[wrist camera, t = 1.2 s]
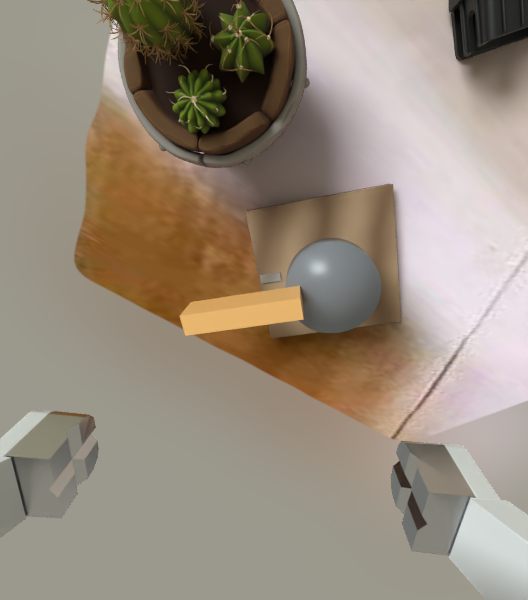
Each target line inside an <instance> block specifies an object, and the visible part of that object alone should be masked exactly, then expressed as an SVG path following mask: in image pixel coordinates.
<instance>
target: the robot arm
mask: <svg viewBox="0 0 528 600" xmlns="http://www.w3.org/2000/svg"><path fill="white" fill-rule="evenodd" d="M95 428H96V426H95V422H94V417H92V416H90V415H86V414H76V413H67V412H57V411H54V412H53V411H45V410H34V411H31V412H29V413H28V414H27V415H26V416H25V417H24V418H22V419H21V420H20V421H19V422H18V423H17V424H16V425H15V426H14V427H13V428H12V429H11V430H9V431H8V432H7V433H6V434H5V435H4V436H3V437H2V438H1V439H0V538H1V537H2V536H3V535H5V534H6V533H7V532H9V531H10V530H11V529H13V528H14V527H15V526H17V525H18V524H19V523H21V522H22V521H23V520H25V519H26V516H31V517H47V518H62V517H63V515H64V514H65V512H66V511H67V509H68V508H69V506H70V505H71V503H72V502H73V500H74V499H75V497H76V495H77V494H78V493H77V485H79V484H80V483H82V482H83V481H85V480H86V479H88V477H89V475H90V474H91V472H92V471H93V469H94V466H95V464H96V461H97V458H98V441H97V440H96V439H95V438H94V436H93V435H92V434H91V433H92V432H93V430H94V429H95ZM396 453H397V456H398V458H399V462H397V463H396V464H395V465H394V466H393V469H392V474H391V489H392V494H393V498H394V501H395V504H396V507H397V508H398V509H400V510H401V511H402V512H403V513H404V517H403V521H402V525H403V528H404V531H405V533H406V536H407V539H408V542H409V545H410V548H411V551H415V552H423V553H432V554H439V555H448V556H449V558H450V559H451V561H452V562H453V563H454V564H455V565H456V566H457V568H458V569H459V570H460V571H461V572H462V573H463V574H464V575H465V577H466V578H467V579H468V580H469V581H470V582H471V583H472V585H473V586H474V587H475V588H476V589H477V590H478V591H479V593H480V594H481V595H482V596H483V597H484V598H485V599H486V600H528V515H527V514H525V513H524V512H523V511H521V510H520V509H518V508H517V507H515V506H514V505H512V504H511V503H510V502H509V501H504V500H501V499H500V498H499V496H498V495H497V494H496V492H495V491H494V490H493V488H492V486H491V485H490V483H489V482H488V480H487V479H486V477H485V476H484V474H483V473H482V472H481V471H480V469H479V467H478V466H477V464H476V463H475V461H474V460H473V458H472V457H471V455H470V454H469V453H468V451H467V450H466V448H465V447H463V446H462V445H458V444H442V443H441V444H437V443H424V442H410V441H401V442H400V443H399V445H398V448H397V452H396Z"/></svg>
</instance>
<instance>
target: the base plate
mask: <svg viewBox="0 0 528 600" xmlns="http://www.w3.org/2000/svg"><path fill="white" fill-rule="evenodd" d="M246 217H247V222H248V227H249V232H250V237H251V242H252V247H253V252H254V257H255V262H256V267H257V271H258V276H259V281H260V286H261V291H268V290H275V289H281V288H286V277H287V271H288V268H289V266H290V263H291V261H292V260H293V258H294V257H295V255H296V254H297V253H298V252H299V251H300V250H301V249H302V248H304V247H305V246H306V245H308V244H310V243H312V242H314V241H317V240H320V239H324V238H340V239H344V240H348V241H350V242H352V243H354V244H356V245H357V246H359V247H360V248H361V249H362V250H363V251H364V252H365V253H366V254H367V255H368V256H369V257H370V259H371V260H372V261H373V262H374V264H375V265H376V267H377V269H378V271H379V274H380V278H381V296H380V299H379V302H378V305H377V307H376V309H375V310H374V312H373V313H372V314H371V316H370V317H369V318H368V319H367V320H366V321H365V322H363V323H362V324H361V325H359V326H357V327H363V326H371V325H378V324H386V323H394V322H401V314H400V297H399V280H398V263H397V246H396V229H395V212H394V195H393V184H386V185H380V186H375V187H370V188H365V189H359V190H354V191H349V192H343V193H338V194H333V195H328V196H322V197H317V198H312V199H306V200H301V201H296V202H291V203H285V204H280V205H275V206H270V207H264V208H259V209H254V210H248V211H246ZM268 326H269V330H270V335H271V338H279V337H286V336H294V335H302V334H309V333H317V332H318V331H315V330H312V329H310V328H308V327H306V326H305V325H303V324H302V323H301V322H300V321H299V320H296V321H289V322H282V323H274V324H268Z"/></svg>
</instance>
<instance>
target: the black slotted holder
mask: <svg viewBox="0 0 528 600" xmlns="http://www.w3.org/2000/svg"><path fill="white" fill-rule="evenodd" d="M449 12H451V16H452V27H453V37H454V48H455V56H456V59H458V60H464V59H467V58H470V57H473V56H476V55H479V54H482V53H484V52H487V51H490V50H493V49H496V48H499V47H502V46H505V45H508V44H511V43H513V42H516V41H519V40H522V39H525V38H528V0H449Z"/></svg>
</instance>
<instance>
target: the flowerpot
mask: <svg viewBox="0 0 528 600" xmlns="http://www.w3.org/2000/svg"><path fill="white" fill-rule="evenodd" d="M88 1H90V2H92V3H96V2H99V3H102V7H101V12H99V11H97V12H99V13H101V15H102V14H105V15H107V16H105V17H104V18H105V19H104V18H102V19H101V20H100V21H102V20H103V19H104V21H105V20H106V19H107V18H108V17H109V16H110V17H109V18H108V19H109V23H110V27H111V22H110V21H112V20H113V19H115V20H116V21H117V25H118V24H119V25H118V26H120V27H119V29H115V30H119V31H118V32H119V36H117V37H116V38H118V61H119V68H120V73H121V77H122V81H123V85H124V88H125V91H126V94H127V97H128V99H129V102H130V104H131V106H132V108H133V110H134V112H135V114H136V115H137V117H138V119H139V121H140V122H141V124H142V125H143V127H144V128H145V129H146V131H147V132H148V133H149V135H150V136H151V137H152V138H153V139H154V140H155V141H156V142H157V143H158V144H159V148H160V150H162V151H166V150H167V151H168V152H169V153H171V154H172V155H174V156H176V157H178V158H180V159H182V160H184V161H187V162H190V163H194V164H197V165H201V166H205V167H211V168H221V167H232V166H235V165H238V164H240V163H244V164H246V165H248V164H250V162H251V159H252V158H254V157H256V156H257V155H259V154H260V153H262V152H263V151H264V150H265V149H267V148H268V147H269V146H270V145H271V144H272V143H273V142H274V141H275V140H276V139H277V138H278V137H279V136H280V135H281V134H282V133H283V131H284V130H285V128H286V127H287V125H288V124H289V122H290V121H291V119H292V117H293V115H294V114H295V112H296V110H297V108H298V106H299V104H300V101H301V99H302V96H303V92H304V88H306V87H308V85H309V80H308V79H307V78H306V75H307V60H306V48H305V40H304V34H303V30H302V25H301V21H300V18H299V15H298V12H297V10H296V7H295V5H294V2H293V0H102V1H92V0H88ZM99 3H96V4H99ZM104 4H105V6H104ZM103 6H104V7H106V6H107V7H108V9H109V11H108V10H107V8H105V9H106V10H107V11H108V12H106V11H105V12H103V13H102V9H103ZM93 10H94V9H93ZM95 11H96V10H95ZM111 18H112V20H111ZM100 21H99V22H100ZM104 21H103V22H104ZM113 21H114V20H113ZM99 22H98V23H99ZM112 23H113V22H112ZM114 23H115V22H114ZM115 24H116V23H115ZM115 24H114V25H115ZM115 26H116V25H115ZM116 27H117V26H116ZM111 28H112V27H111ZM117 28H118V27H117ZM113 29H114V28H113ZM111 31H112V29H111ZM118 32H114V33H113V32H112V33H111V34H115V33H118ZM116 38H113V39H116ZM292 80H293V81H292ZM291 82H292V85H291ZM194 151H196V152H194ZM198 152H204V154H201V153H198Z"/></svg>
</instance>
